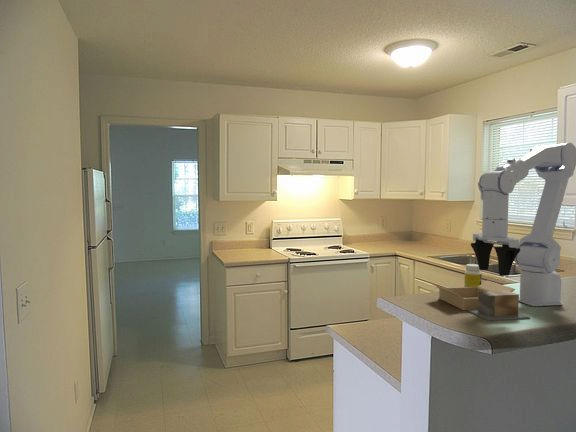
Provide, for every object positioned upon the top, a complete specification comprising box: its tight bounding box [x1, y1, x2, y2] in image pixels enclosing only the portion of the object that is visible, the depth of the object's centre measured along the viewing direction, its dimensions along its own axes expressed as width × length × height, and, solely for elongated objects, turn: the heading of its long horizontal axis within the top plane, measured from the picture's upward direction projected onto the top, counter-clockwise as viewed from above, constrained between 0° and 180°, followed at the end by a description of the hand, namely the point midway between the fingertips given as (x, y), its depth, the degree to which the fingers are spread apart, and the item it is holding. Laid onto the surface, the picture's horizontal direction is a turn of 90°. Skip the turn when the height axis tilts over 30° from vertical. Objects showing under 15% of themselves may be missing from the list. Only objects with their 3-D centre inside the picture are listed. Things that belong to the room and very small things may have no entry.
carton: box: [430, 280, 516, 311], centre depth 112 cm, size 18×12×5 cm, turn 100°
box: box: [478, 291, 520, 316], centre depth 101 cm, size 8×4×5 cm, turn 100°
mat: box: [467, 309, 531, 322], centre depth 101 cm, size 11×8×1 cm
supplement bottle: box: [463, 263, 483, 287], centre depth 124 cm, size 5×5×8 cm
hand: (493, 272), depth 105 cm, fingers open, 7 cm apart
